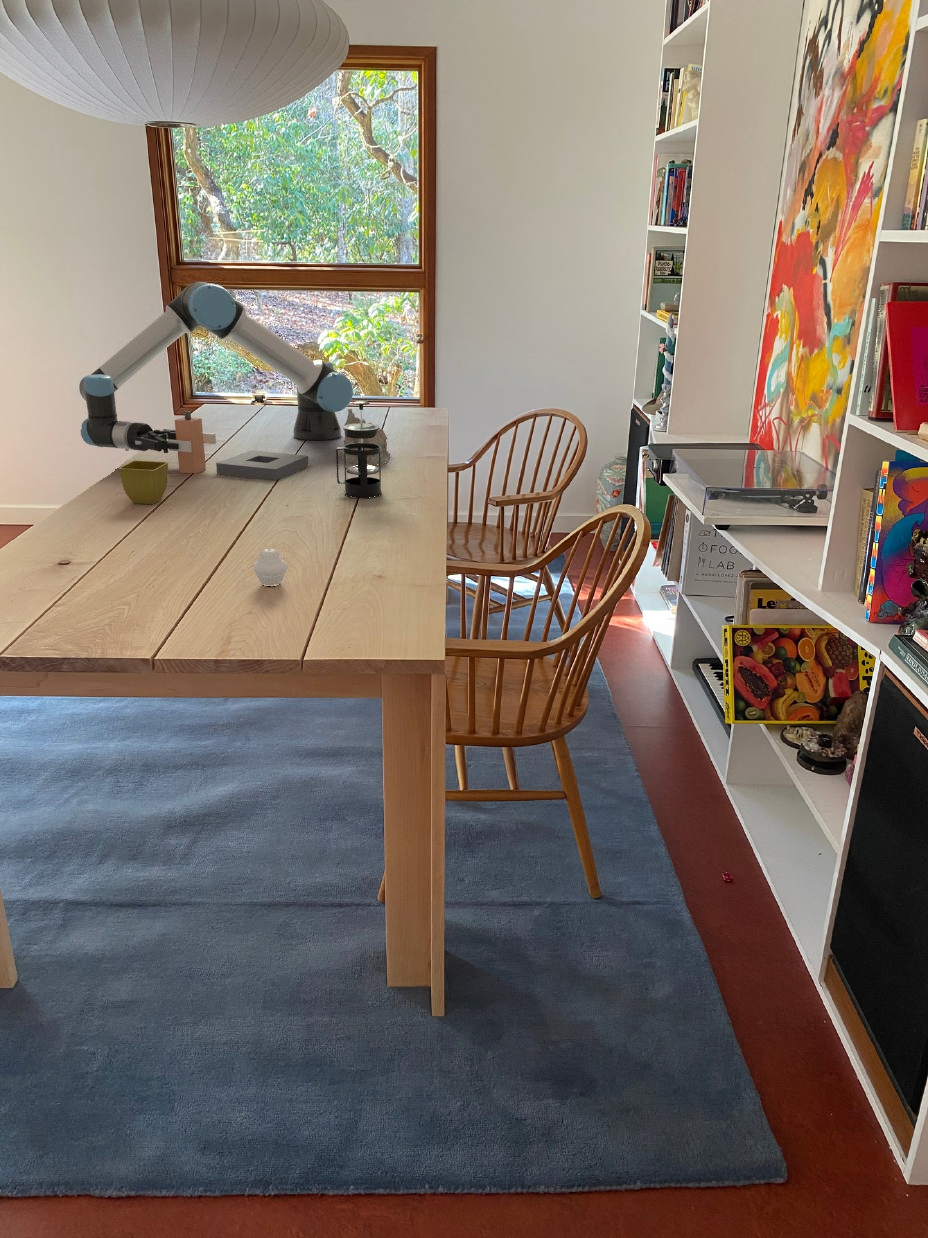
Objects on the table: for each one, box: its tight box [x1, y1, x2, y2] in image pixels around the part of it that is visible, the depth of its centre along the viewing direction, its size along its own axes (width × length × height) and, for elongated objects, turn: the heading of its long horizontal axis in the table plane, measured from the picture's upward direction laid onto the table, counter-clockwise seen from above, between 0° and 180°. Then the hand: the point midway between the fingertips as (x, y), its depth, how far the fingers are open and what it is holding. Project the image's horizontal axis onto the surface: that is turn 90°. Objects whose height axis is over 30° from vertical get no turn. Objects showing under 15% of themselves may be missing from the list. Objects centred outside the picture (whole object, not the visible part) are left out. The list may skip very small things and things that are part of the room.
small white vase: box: [252, 548, 288, 585], centre depth 173 cm, size 6×6×7 cm
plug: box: [174, 410, 207, 475], centre depth 253 cm, size 5×5×16 cm
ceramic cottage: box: [341, 408, 392, 466], centre depth 272 cm, size 16×16×15 cm
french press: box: [335, 400, 383, 499], centre depth 233 cm, size 12×9×23 cm
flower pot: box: [118, 460, 169, 505], centre depth 225 cm, size 9×9×9 cm
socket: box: [215, 449, 309, 481], centre depth 258 cm, size 18×18×3 cm
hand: (203, 442), depth 252 cm, fingers open, 11 cm apart
